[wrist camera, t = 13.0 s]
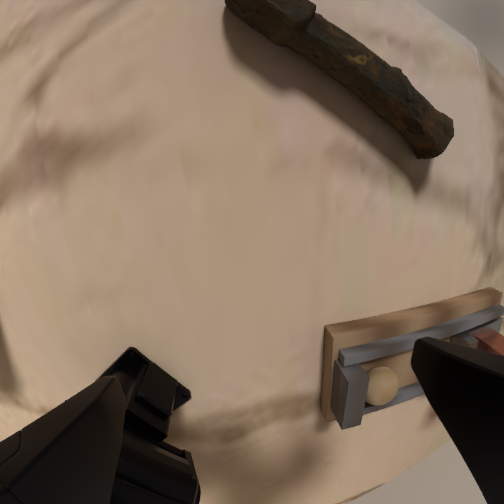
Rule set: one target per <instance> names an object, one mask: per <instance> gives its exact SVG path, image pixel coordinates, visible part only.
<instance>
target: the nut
mask: <svg viewBox="0 0 504 504" xmlns="http://www.w3.org/2000/svg"><path fill="white" fill-rule="evenodd" d="M367 374H368V376H369V377H370V379H369V385H368V391H367V396H366V402H368V403H369V404H372V405H377V406H378V405H384V404H386V403H388V402H390V401H391V400H392V399H393V398H394V397H395V396H396V394H397V392H398V389H399V379H398V377H397V375H396V373H395V372H394V371H393V370H391V369H390V368H387V367H376V368H373V369H371V370H370V371H368V372H367Z"/></svg>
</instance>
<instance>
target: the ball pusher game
mask: <svg viewBox="0 0 504 504" xmlns="http://www.w3.org/2000/svg"><path fill="white" fill-rule="evenodd" d="M501 298H502V292H500V291H498V290H496V289H494V288H492V287H488V288H485V289H482V290H478V291H475V292H472V293H468V294H465V295H461V296H458V297H454V298H450V299H447V300H443V301H439V302H435V303H431V304H427V305H423V306H419V307H415V308H411V309H406V310H402V311H397V312H393V313H388V314H384V315H379V316H374V317H369V318H364V319H359V320H353V321H348V322H342V323H337V324H331V325H325V336H324V360H323V378H322V393H321V406H320V408H321V411H322V413H323V415H324V417H325V420H326V422H329V421H333V420H337V421H338V423H339V425H340V427H341V430H343V429H347V428H351V427H354V426H358V425H361V420H362V416H363V415H364V414H367V413H371V412H374V411H377V410H380V409H384V408H387V407H390V406H393V405H396V404H399V403H401V402H404V401H407V400H410V399H413V398H415V397H418V396H420V395H423V394H425V393H424V391H423V389H422V387H421V385H420V383H419V381H418V379H417V377H416V375H415V373H414V372H413V370H412V367H411V356H412V352H413V347H414V343H415V341H416V340H417V339H419V338H422V337H425V336H428V337H432V338H436V339H439V340H443V341H447V342H451V339H452V335H455V334H458V333H461V332H463V331H466V330H469V329H471V328H474V327H476V326H479V325H481V324H484V323H486V322H488V321H491V320H493V319H495V318H498V317H500V316H502V315H504V307H503V306H502V305H500V303H501ZM376 367H387V368H390V369H391V370H393V371H394V372H395V373H396V375H397V377H398V379H399V389H398V392H397V394H396V396H395V397H394V398H393V399H392V400H391V401H390V402H388V403H386V404H384V405H378V406H377V405H372V404H369V403H368V402H366V396H367V391H368V385H369V379H370V377H369V376H368V374H367V372H368V371H370V370H371V369H373V368H376Z"/></svg>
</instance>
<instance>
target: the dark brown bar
mask: <svg viewBox="0 0 504 504" xmlns="http://www.w3.org/2000/svg"><path fill="white" fill-rule="evenodd" d="M225 4H226V5H227V7H228V8H229V9H230V10H231V11H232V12H233V13H235V14H236V15H237V16H239V17H240V18H241V19H242V20H243V21H245V22H246V23H247V24H248V25H250V26H251V27H252V28H255V29H257V30H258V31H259V32H260V33H262V34H263V35H264V36H266V37H267V38H268V39H269V40H271V41H272V42H273V43H275V44H277V45H279V46H289V47H291V48H293V49H294V50H296V51H298V52H299V53H301V54H303V55H304V56H306V57H307V58H308V59H310V60H311V61H312V62H314V63H315V64H317V65H318V66H320V67H321V68H322V69H324V70H325V71H326V72H327V73H328V74H330V75H331V76H332V77H333V78H334V79H336V80H337V81H338V82H340V83H342V84H344V85H345V86H347V87H348V88H349V89H351V90H352V91H353V92H354V93H355V94H357V95H358V96H359V97H360V98H362V99H363V100H364V101H365V102H366V103H367V104H368V105H369V106H370V107H371V108H373V109H374V110H375V111H376V112H377V113H378V114H379V115H380V116H381V117H383V118H384V119H386V120H387V121H388V122H389V123H390V124H391V125H393V126H394V127H395V128H396V129H397V130H398V131H399V132H400V133H402V134H403V135H404V136H405V137H406V138H407V139H408V140H409V141H410V142H411V143H412V145H413V146H414V154H415V156H416V157H417V158H418V159H421V158H422V159H430V158H434V157H437V156H439V155H440V154H442V153H443V152H444V150H445V149H446V147H447V146H448V144H449V142H450V141H451V139H452V138H453V137H454V128H453V120H452V119H451V118H449V117H448V116H447V115H445V114H444V113H441V112H439V111H438V110H436V109H435V108H434V107H433V106H432V105H431V104H430V102H429V101H428V100H426V99H425V97H424V96H423V95H421V94H420V93H419V92H418V91H417V90H416V89H415V88H414V87H413V86H412V84H411V83H410V81H409V80H408V78H407V77H406V76H405V75H404V74H403V73H402V70H401V69H399V68H397V67H391V66H390V65H388V64H387V62H385V61H384V60H382V59H381V58H380V57H379V56H377V55H376V54H375V53H374V52H372V51H371V50H370V49H368V48H367V47H366V46H365V45H363V44H362V43H360V42H359V41H358V40H356V39H355V38H354V37H352V36H351V35H349V34H348V33H346V32H345V31H343V30H342V29H340V28H339V27H337V26H335V25H334V24H332V23H331V22H329V21H327V20H326V19H325V18H323V17H322V15H320V14H317V13H315V11H316V5H315V4H314V3H312V2H310V1H309V0H225Z"/></svg>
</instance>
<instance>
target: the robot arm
mask: <svg viewBox="0 0 504 504" xmlns="http://www.w3.org/2000/svg"><path fill="white" fill-rule="evenodd" d="M130 352H132V353H134V355H132V354H130ZM411 367H412V370H413V372H414V373H415V375H416V377H417V379H418V381H419V383H420V385H421V387H422V389H423V391H424V393H425V395H426V397H427V399H428V401H429V403H430V405H431V406H432V408H433V409H434V411H435V413H436V414H437V416H438V417H439V419H440V421H441V422H442V424H443V425H444V427H445V429H446V430H447V432H448V434H449V435H450V437H451V439H452V440H453V442H454V444H455V445H456V447H457V449H458V450H459V452H460V454H461V456H462V457H463V459H464V461H465V463H466V464H467V466H468V468H469V470H470V471H471V473H472V475H473V477H474V479H475V480H476V483H477V484H478V486H479V488H480V490H481V492H482V494H483V496H484V498H485V500H486V502H487V504H504V356H502V355H498V354H494V353H490V352H486V351H482V350H478V349H474V348H470V347H466V346H462V345H458V344H454V343H451V342H447V341H443V340H439V339H436V338H432V337H428V336H425V337H422V338H419V339H417V340H416V341H415V343H414V347H413V352H412V356H411ZM183 394H187V395H183ZM190 396H191V392H190V391H189V390H188V389H187V388H185V387H184V386H183V385H181V384H180V383H179V382H177V380H176V379H174V378H173V377H172V376H170V375H169V374H168V373H166V372H165V371H164V370H163V369H161V368H160V367H159V366H157V365H156V364H155V363H153V362H152V361H150V360H149V359H148V358H147V357H145V356H144V355H143V354H142V353H141V352H139V351H138V350H137V349H136V348H134V347H129V348H128V349H127V350H126V351H125V352H124V353H123V354H122V355H121V356H120V357H119V358H118V359H117V360H116V361H115V362H114V363H113V364H112V365H111V366H110V367H109V368H108V369H107V370H106V371H105V372H104V373H103V374H102V375H101V376H100V377H99V378H98V379H97V380H96V381H95V382H94V383H92V384H91V385H89V386H88V387H86V388H85V389H83V390H82V391H80V392H79V393H77V394H76V395H74V396H73V397H71V398H70V399H68V400H65V402H63V403H62V404H60V405H59V406H57V407H56V408H54V409H52V410H51V411H49V412H48V413H46V414H45V415H43V416H42V417H40V418H38V419H37V420H35V421H34V422H32V423H31V424H29V425H27V426H26V427H24V428H23V429H22V431H21V430H19V431H18V432H16V433H15V434H13V435H11V436H10V437H8V438H6V439H5V440H3V441H1V442H0V504H199V502H200V494H201V490H200V485H199V482H198V478H197V475H196V471H195V467H194V464H193V460H192V456H191V453H190V452H188V451H186V450H180V449H178V448H176V447H174V446H172V445H170V444H167V443H165V438H167V435H168V429H169V423H170V417H171V415H172V411H173V410H175V409H176V408H178V407H179V406H180V405H182V404H183V403H184V402H186V401H187V400H189V399H190Z"/></svg>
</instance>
